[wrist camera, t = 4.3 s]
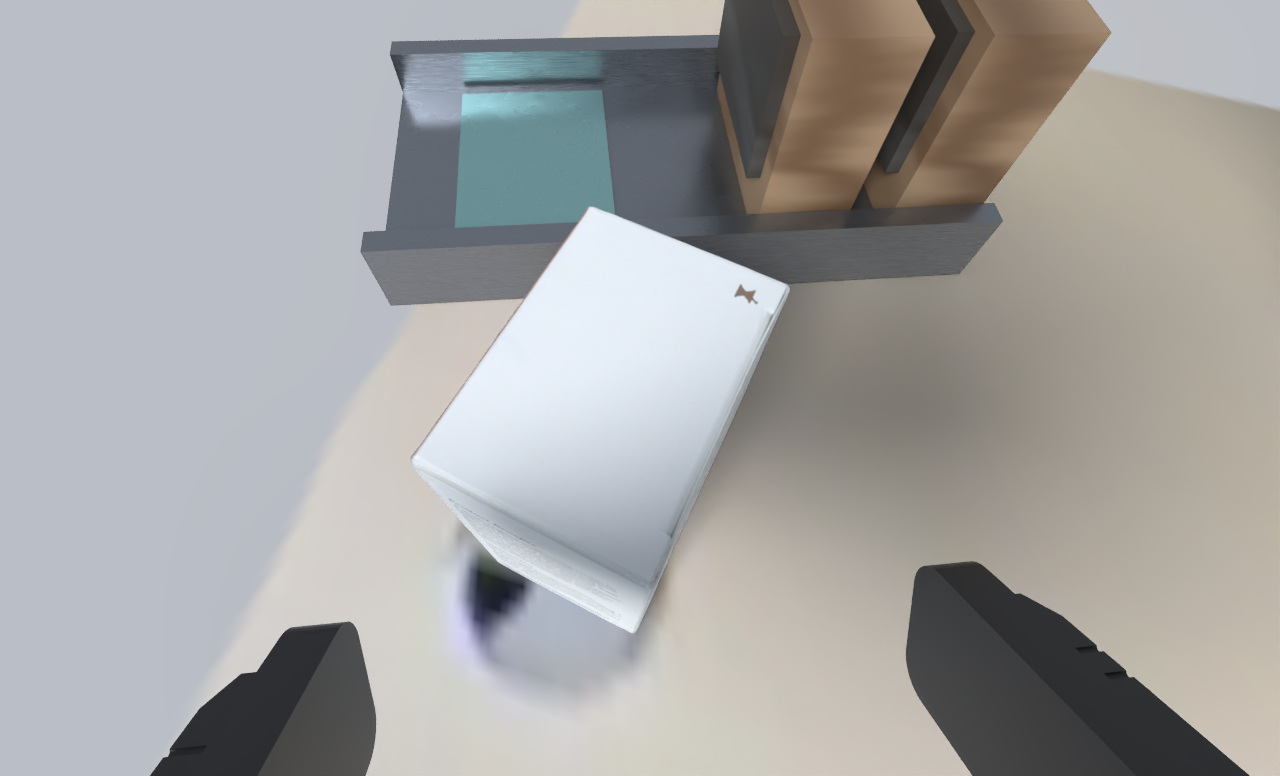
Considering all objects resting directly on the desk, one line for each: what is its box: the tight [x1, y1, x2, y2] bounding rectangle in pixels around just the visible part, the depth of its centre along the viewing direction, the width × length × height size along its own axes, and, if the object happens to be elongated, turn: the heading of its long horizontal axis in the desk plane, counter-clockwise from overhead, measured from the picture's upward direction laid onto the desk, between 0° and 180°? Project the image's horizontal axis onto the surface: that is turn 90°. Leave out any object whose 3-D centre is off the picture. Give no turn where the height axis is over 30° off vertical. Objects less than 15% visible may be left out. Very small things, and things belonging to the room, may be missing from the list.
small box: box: [410, 206, 790, 633], centre depth 18 cm, size 8×6×10 cm
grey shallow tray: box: [361, 35, 1003, 305], centre depth 28 cm, size 26×13×4 cm, turn 96°
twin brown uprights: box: [716, 0, 1111, 214], centre depth 25 cm, size 11×10×9 cm
